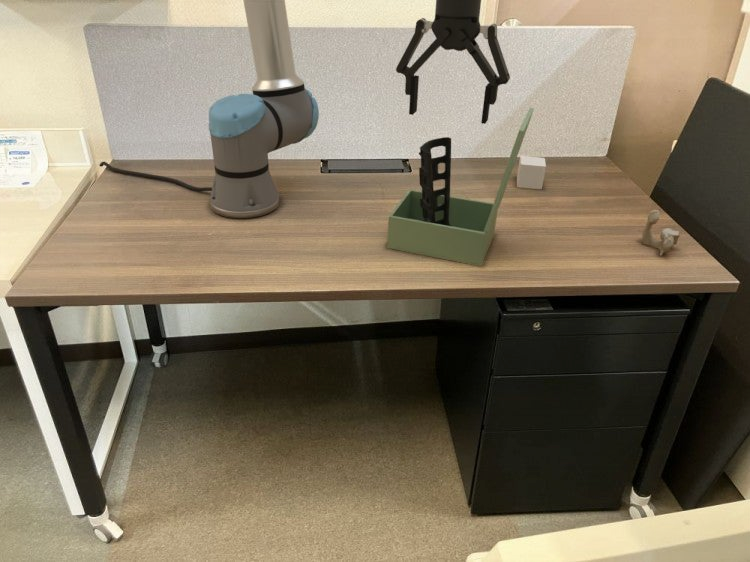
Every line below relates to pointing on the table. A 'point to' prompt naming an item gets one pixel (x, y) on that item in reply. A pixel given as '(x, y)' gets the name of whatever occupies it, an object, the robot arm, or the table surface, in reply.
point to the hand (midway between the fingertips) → (448, 117)
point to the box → (442, 229)
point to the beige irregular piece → (667, 235)
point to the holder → (430, 174)
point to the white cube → (531, 172)
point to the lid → (509, 168)
